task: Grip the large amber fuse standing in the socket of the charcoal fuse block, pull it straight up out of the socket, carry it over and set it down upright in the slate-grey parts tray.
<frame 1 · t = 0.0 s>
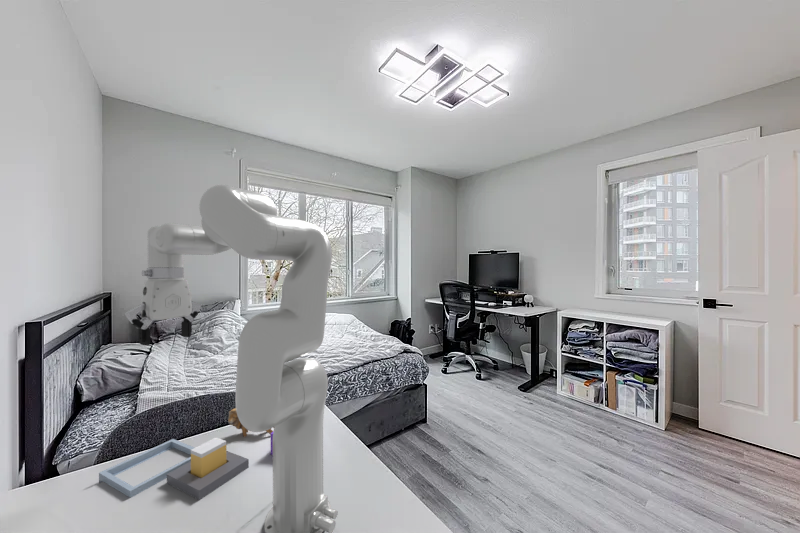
hand: (166, 340, 82), 31 cm above the table, tool pointing down, fingers open, 9 cm apart
fuse block: (209, 479, 75), on the table
purple rectangular block: (293, 448, 89), on the table
blown fuse: (209, 474, 75), point 1 cm above the table, touching fuse block
parts tray: (154, 471, 78), on the table
lion figurine: (253, 438, 93), on the table
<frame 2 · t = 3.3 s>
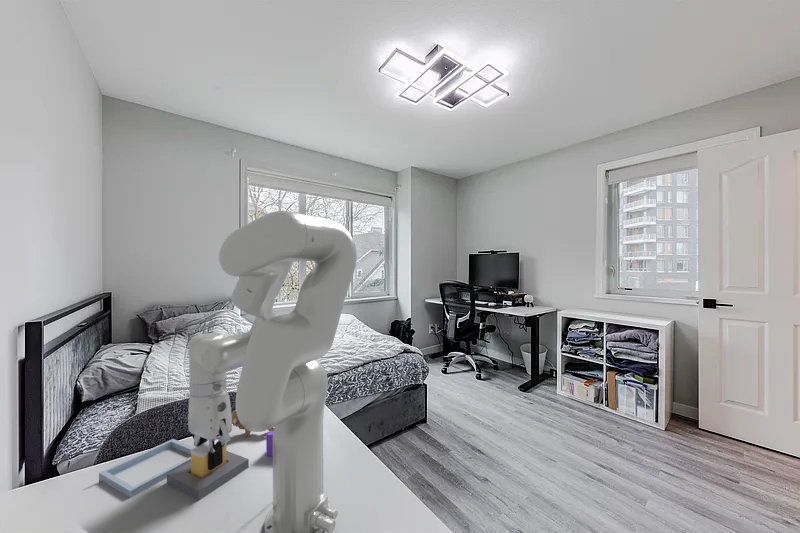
hand: (209, 463, 75), 4 cm above the table, tool pointing down, fingers closed on blown fuse, 4 cm apart
purple rectangular block: (289, 449, 88), on the table
blown fuse: (209, 474, 75), point 1 cm above the table, touching fuse block, gripper
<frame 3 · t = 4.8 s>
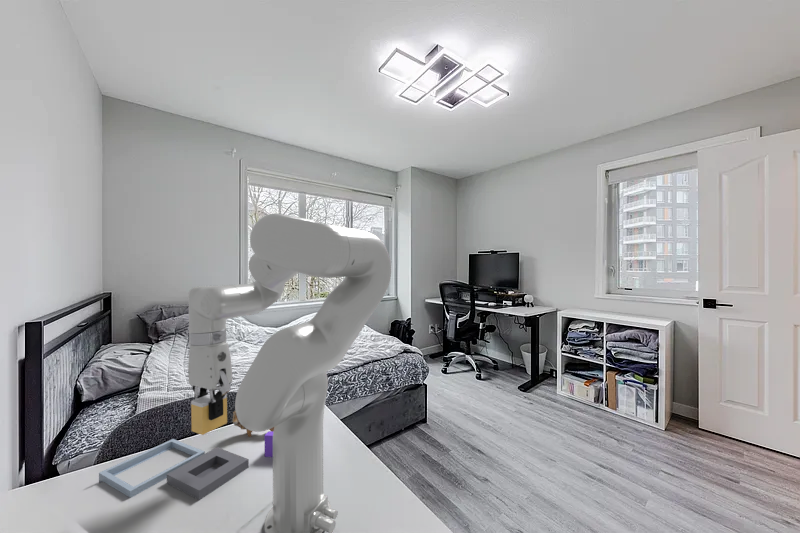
hand: (209, 414, 75), 15 cm above the table, tool pointing down, fingers closed on blown fuse, 4 cm apart
blown fuse: (209, 426, 75), point 12 cm above the table, touching gripper
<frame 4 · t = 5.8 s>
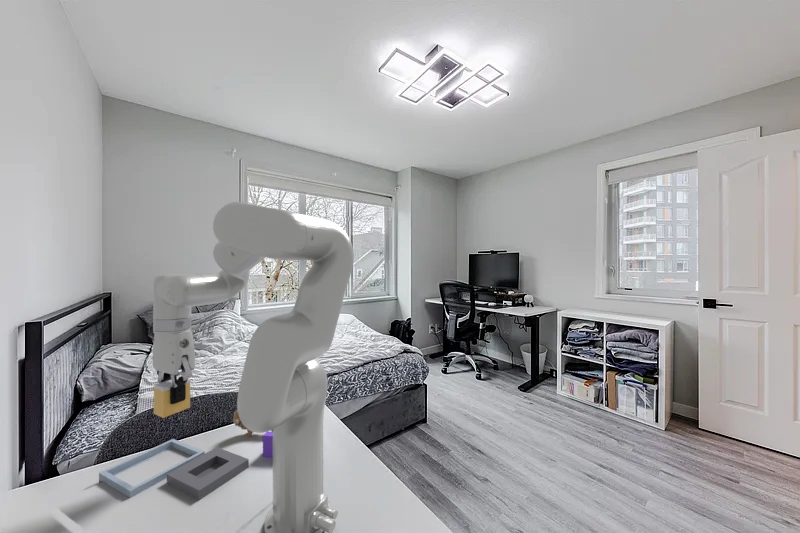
hand: (172, 399, 77), 18 cm above the table, tool pointing down, fingers closed on blown fuse, 4 cm apart
blown fuse: (172, 410, 77), point 15 cm above the table, touching gripper
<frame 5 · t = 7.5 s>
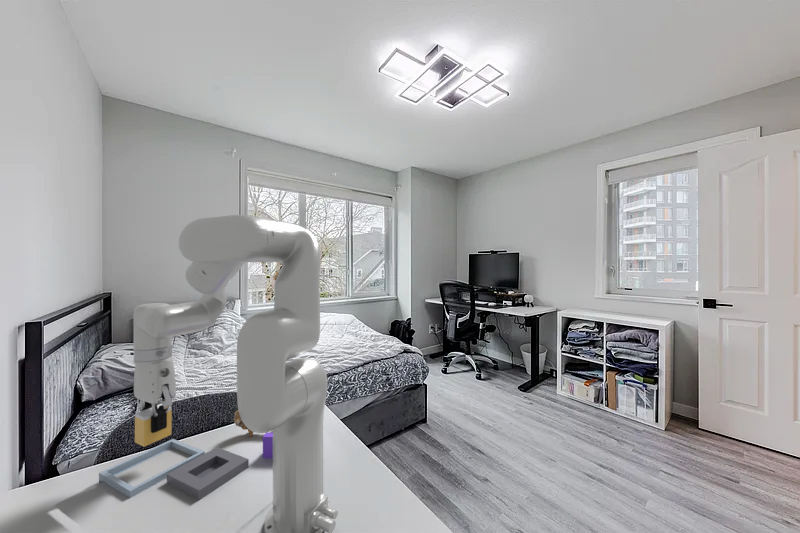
hand: (153, 427, 78), 11 cm above the table, tool pointing down, fingers closed on blown fuse, 4 cm apart
blown fuse: (153, 438, 78), point 8 cm above the table, touching gripper
when the fingers open (5 cm above the table, at t = 8.8 s): blown fuse drops 2 cm, resting on parts tray.
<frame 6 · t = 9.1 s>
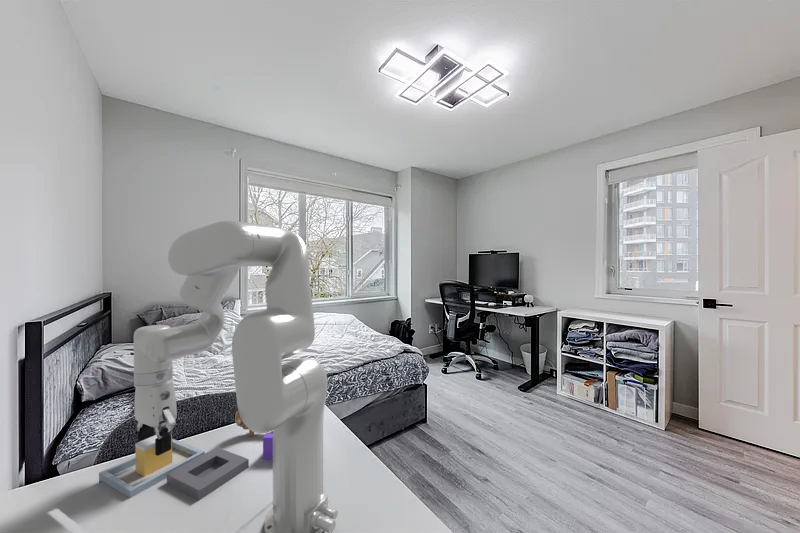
hand: (154, 448, 78), 6 cm above the table, tool pointing down, fingers open, 7 cm apart
blown fuse: (154, 467, 78), point 1 cm above the table, touching parts tray
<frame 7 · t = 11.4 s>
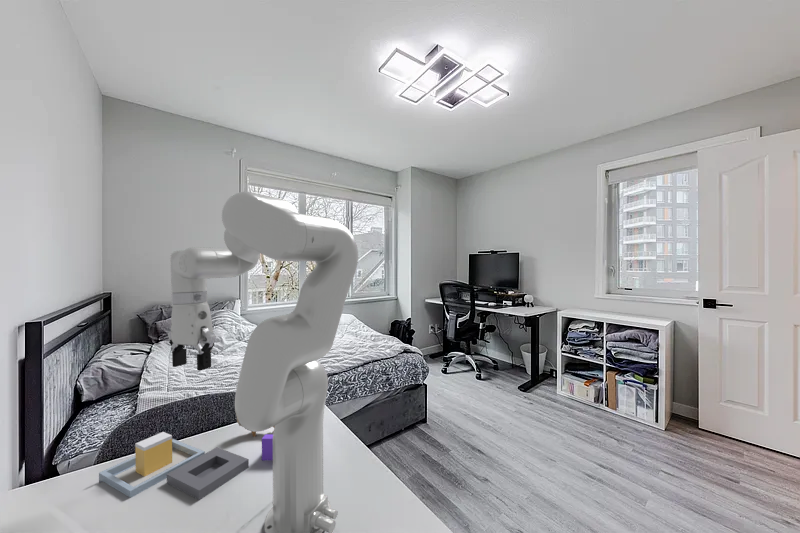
hand: (191, 367, 80), 25 cm above the table, tool pointing down, fingers open, 9 cm apart
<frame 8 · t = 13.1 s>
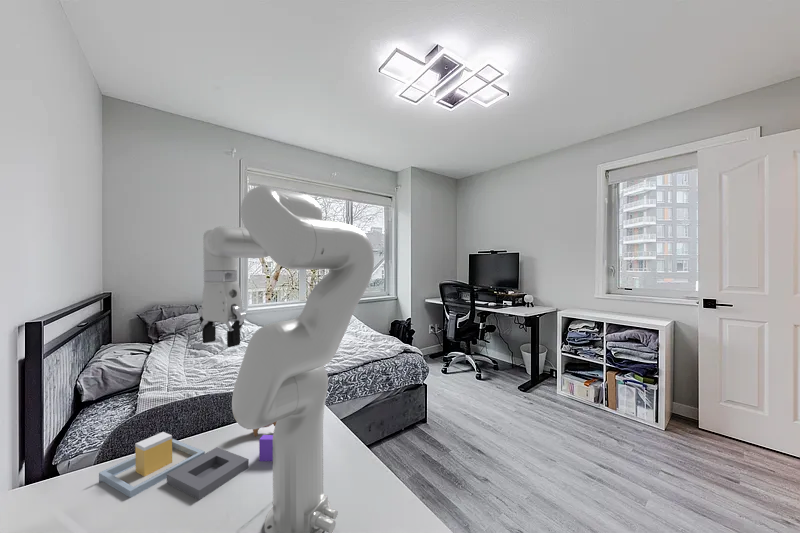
hand: (221, 343, 82), 30 cm above the table, tool pointing down, fingers open, 9 cm apart
at the end: blown fuse inside the target area on the parts tray (0.2 cm from its centre), point 0.8 cm above the parts tray's base; blown fuse tilted 0°; the gripper is holding nothing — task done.
